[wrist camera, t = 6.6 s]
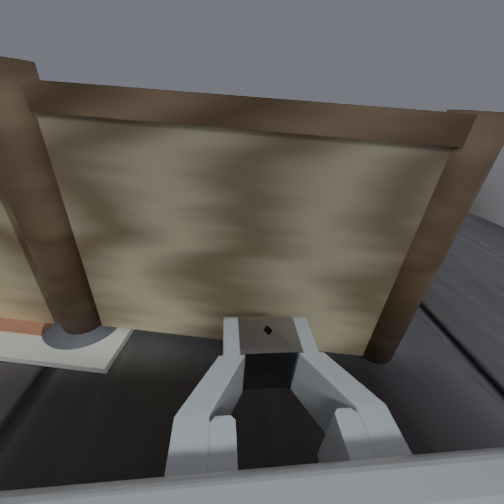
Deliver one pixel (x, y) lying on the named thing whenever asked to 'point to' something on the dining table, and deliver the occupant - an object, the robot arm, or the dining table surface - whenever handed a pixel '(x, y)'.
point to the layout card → (60, 345)
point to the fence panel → (261, 206)
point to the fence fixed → (35, 221)
